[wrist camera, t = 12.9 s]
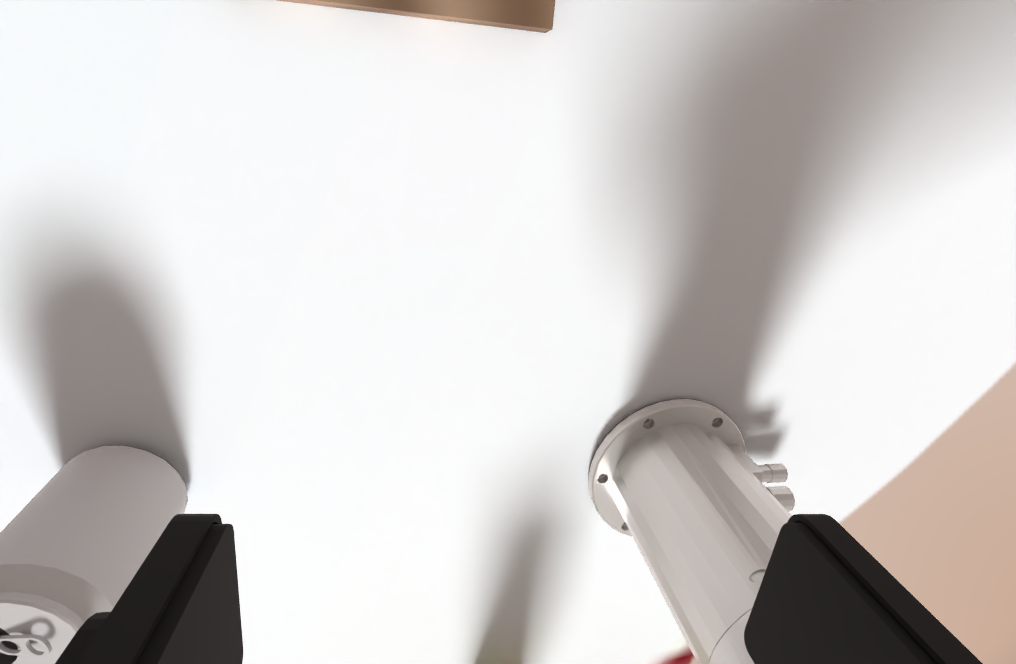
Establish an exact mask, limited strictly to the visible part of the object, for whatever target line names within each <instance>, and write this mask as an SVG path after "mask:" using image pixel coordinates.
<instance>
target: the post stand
mask: <svg viewBox="0 0 1016 664" xmlns="http://www.w3.org/2000/svg"><path fill="white" fill-rule="evenodd" d="M279 1H287V2H296V3H304V4H312V5H320V6H329V7H337V8H345V9H353V10H362V11H370V12H378V13H387V14H395V15H403V16H411V17H420V18H428V19H436V20H444V21H453V22H461V23H469V24H478V25H486V26H494V27H502V28H511V29H519V30H527V31H535V32H544V33H546V32H548V31H550V30H552V27H553V17H554V7H555V0H279Z"/></svg>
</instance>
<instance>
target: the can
mask: <svg viewBox="0 0 1016 664" xmlns="http://www.w3.org/2000/svg"><path fill="white" fill-rule="evenodd" d="M187 501H188V498H187V490H186V485H185V483H184V482H183V480H182V478H181V476H180V475H179V473H178V472H177V471H176V470H175V469H174V468H173V467H172V466H171V465H170V464H168V463H167V462H166V461H165V460H164V459H162V458H160V457H158V456H156V455H154V454H152V453H150V452H148V451H145V450H141V449H137V448H132V447H128V446H102V447H98V448H94V449H90V450H86V451H84V452H82V453H81V454H79V455H77V456H76V457H74V458H72V459H71V460H69V461H68V462H67V463H66V464H65V465H64V467H63V468H62V469H61V470H60V471H59V472H58V473H57V474H56V475H55V476H54V477H53V478H52V479H51V480H50V481H49V482H48V483H47V484H46V485H45V487H44V488H43V489H42V490H41V491H40V492H39V493H38V494H37V495H36V496H35V497H34V498H33V499H32V500H31V501H30V502H29V503H28V504H27V505H26V506H25V508H24V509H23V510H22V511H21V512H20V513H19V514H18V515H17V516H16V517H15V518H14V519H13V520H12V521H11V522H10V523H9V524H8V525H7V526H6V528H5V529H4V530H3V531H2V532H1V533H0V664H55V663H56V661H57V660H58V658H59V657H60V655H61V654H62V653H63V651H64V650H65V648H66V647H67V645H68V644H69V642H70V641H71V640H72V638H73V637H74V635H75V634H76V632H77V631H78V630H79V628H80V627H81V626H82V625H83V624H84V622H85V621H86V620H87V619H88V618H89V617H91V616H92V615H94V614H95V613H99V612H111V611H112V609H113V608H114V606H115V605H116V603H117V602H118V600H119V599H120V597H121V596H122V594H123V593H124V591H125V589H126V588H127V586H128V585H129V583H130V582H131V580H132V579H133V577H134V576H135V574H136V573H137V571H138V570H139V568H140V566H141V565H142V563H143V562H144V560H145V559H146V557H147V556H148V554H149V553H150V551H151V550H152V548H153V546H154V545H155V543H156V542H157V540H158V539H159V537H160V536H161V534H162V533H163V531H164V530H165V528H166V527H167V525H168V523H169V522H170V521H171V519H172V518H173V517H174V516H175V515H177V514H184V511H185V508H186V505H187Z"/></svg>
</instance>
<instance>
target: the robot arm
mask: <svg viewBox="0 0 1016 664" xmlns="http://www.w3.org/2000/svg"><path fill="white" fill-rule="evenodd" d="M787 475H788V474H787V469H786V468H785V466H784V465H782V464H765V465H757V464H756V463H754V462H753V461H752V459H751V458H750V457H749V456H748V455H747V454H746V448H745V443H744V440H743V436H742V434H741V432H740V430H739V429H738V427H737V426H736V424H735V423H734V422H733V421H732V420H731V419H730V418H729V417H728V416H727V415H726V414H725V413H724V412H722V411H721V410H719V409H718V408H717V407H715V406H713V405H710V404H708V403H705V402H702V401H697V400H691V399H674V400H669V401H663V402H659V403H656V404H653V405H650V406H647V407H645V408H643V409H641V410H639V411H637V412H635V413H633V414H632V415H630V416H628V417H627V418H626V419H624V420H623V421H622V422H621V423H619V424H618V425H617V426H616V427H615V428H614V429H613V430H612V431H611V432H610V433H609V434H608V435H607V436H606V437H605V439H604V440H603V442H602V443H601V445H600V446H599V448H598V449H597V451H596V454H595V456H594V458H593V460H592V463H591V467H590V472H589V491H590V495H591V499H592V501H593V503H594V505H595V508H596V510H597V512H598V513H599V515H600V516H601V517H602V519H603V520H604V521H605V522H606V523H607V524H608V525H609V526H611V527H612V528H613V529H615V530H617V531H618V532H620V533H622V534H626V535H629V536H633V538H634V540H635V542H636V544H637V546H638V548H639V550H640V552H641V554H642V556H643V558H644V560H645V561H646V563H647V565H648V567H649V569H650V571H651V573H652V575H653V577H654V579H655V581H656V583H657V585H658V587H659V589H660V591H661V593H662V595H663V597H664V599H665V600H666V602H667V604H668V606H669V608H670V610H671V612H672V614H673V616H674V618H675V620H676V622H677V624H678V626H679V628H680V630H681V632H682V634H683V636H684V638H685V639H686V641H687V643H688V645H689V647H690V649H691V651H692V653H693V655H694V657H695V659H696V661H697V663H698V664H982V663H981V662H980V661H979V660H978V659H977V658H976V657H975V656H974V655H973V654H972V653H971V652H970V651H969V650H968V649H967V648H966V647H965V646H964V645H963V644H962V643H961V642H960V641H959V640H958V639H957V638H956V637H955V636H953V634H951V632H949V631H948V630H947V629H946V628H945V627H944V626H943V625H942V624H941V623H940V622H939V621H938V620H937V619H936V618H935V617H934V616H933V615H932V614H931V613H930V612H929V611H928V610H927V609H926V608H925V607H924V606H923V605H922V604H921V603H920V602H919V601H918V600H917V599H916V598H915V597H913V595H911V594H910V592H908V591H907V590H906V589H905V588H904V587H903V586H902V585H901V584H900V583H899V582H898V581H897V580H896V579H895V578H894V577H893V576H892V575H891V574H890V573H889V572H888V571H887V570H886V569H885V568H884V567H883V566H882V565H881V564H880V563H879V562H878V561H877V560H876V559H875V558H874V557H872V555H870V553H869V552H867V551H866V550H865V549H864V548H863V547H862V546H861V545H860V544H859V543H858V542H857V541H856V540H855V539H854V538H853V537H852V536H851V535H850V534H849V533H848V532H847V531H846V530H845V529H844V528H843V527H842V526H841V525H840V524H839V523H838V522H837V521H836V520H835V519H833V518H832V517H830V516H828V515H825V514H797V515H793V516H792V515H791V514H790V513H789V511H791V510H793V508H794V503H795V499H794V496H793V493H792V492H791V490H790V489H789V488H788V487H786V486H779V487H765V486H764V485H763V484H762V482H767V483H774V482H785V481H786V480H787ZM242 660H243V642H242V629H241V617H240V604H239V592H238V579H237V566H236V554H235V541H234V530H233V526H232V525H231V524H222V522H221V518H220V516H219V515H218V514H177V515H175V516H174V517H173V518H172V519H171V521H170V522H169V523H168V525H167V527H166V528H165V530H164V531H163V533H162V534H161V536H160V537H159V539H158V540H157V542H156V543H155V545H154V546H153V548H152V550H151V551H150V553H149V554H148V556H147V557H146V559H145V560H144V562H143V563H142V565H141V566H140V568H139V570H138V571H137V573H136V574H135V576H134V577H133V579H132V580H131V582H130V583H129V585H128V586H127V588H126V589H125V591H124V593H123V594H122V596H121V597H120V599H119V600H118V602H117V603H116V605H115V606H114V608H113V609H112V611H111V612H99V613H95V614H94V615H92V616H91V617H89V618H88V619H87V620H86V621H85V622H84V624H83V625H82V626H81V627H80V628H79V630H78V631H77V632H76V634H75V635H74V637H73V638H72V640H71V641H70V642H69V644H68V645H67V647H66V648H65V650H64V651H63V653H62V654H61V655H60V657H59V658H58V660H57V661H56V663H55V664H242Z"/></svg>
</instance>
